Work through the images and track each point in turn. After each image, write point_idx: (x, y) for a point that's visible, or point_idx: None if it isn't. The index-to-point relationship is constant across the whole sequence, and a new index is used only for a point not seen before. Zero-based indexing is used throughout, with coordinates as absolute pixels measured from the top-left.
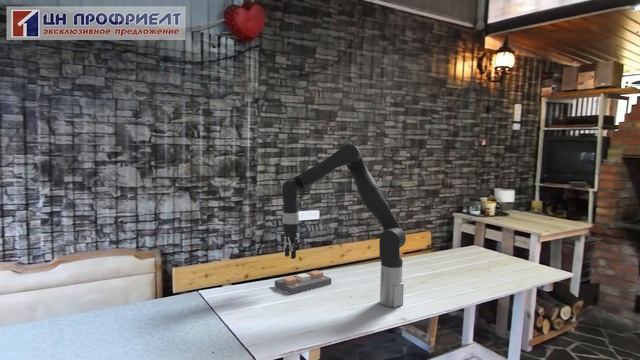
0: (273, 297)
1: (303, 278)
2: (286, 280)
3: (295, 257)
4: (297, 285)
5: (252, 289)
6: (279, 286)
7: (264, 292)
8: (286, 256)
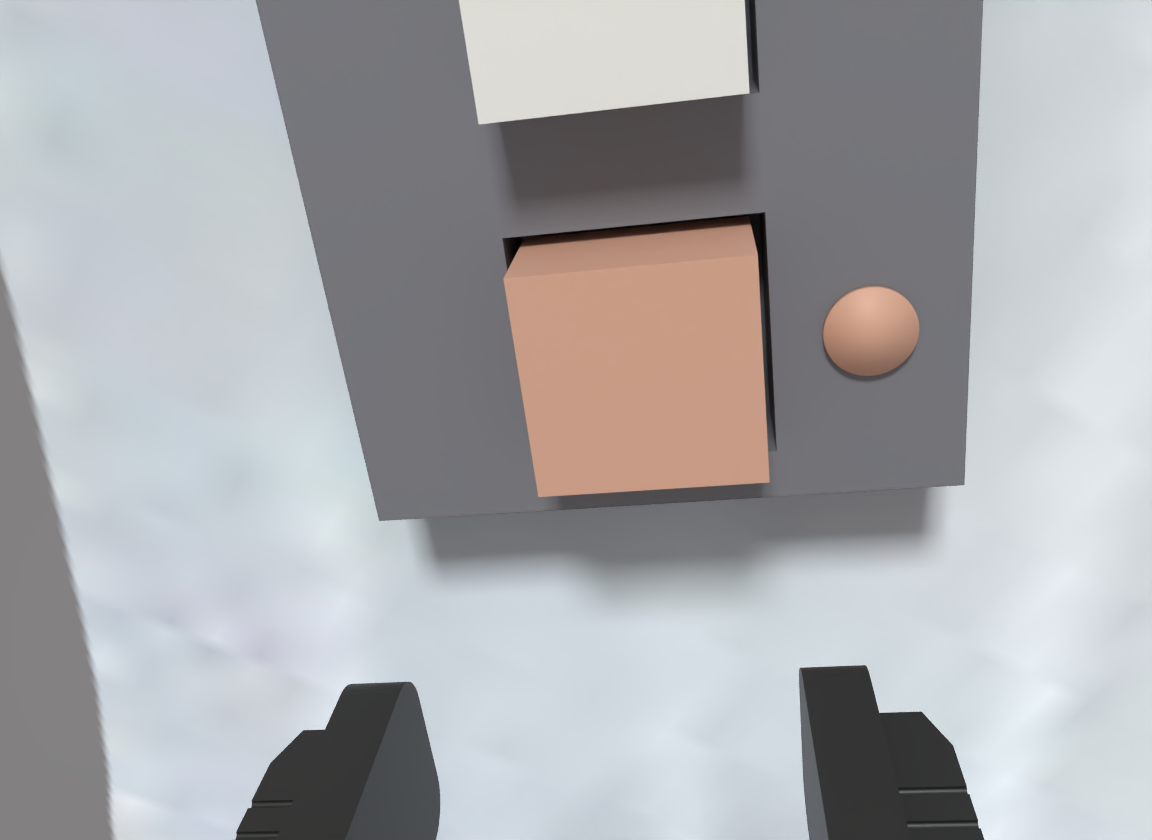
0: None
1: (746, 51)
2: (684, 481)
3: (920, 719)
4: (918, 323)
5: None
6: None
7: (569, 682)
8: (434, 785)
